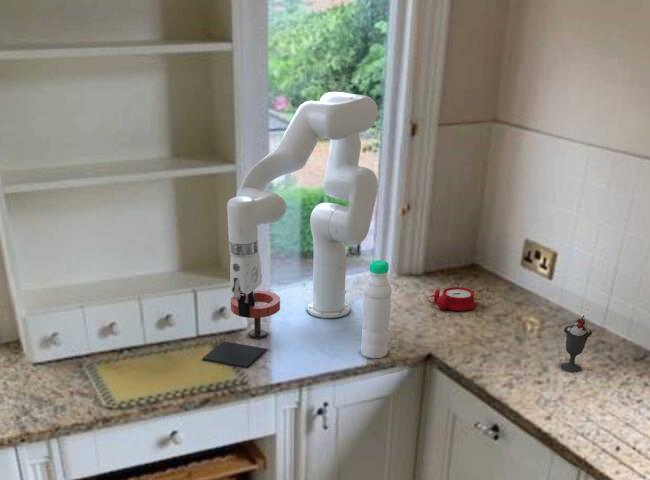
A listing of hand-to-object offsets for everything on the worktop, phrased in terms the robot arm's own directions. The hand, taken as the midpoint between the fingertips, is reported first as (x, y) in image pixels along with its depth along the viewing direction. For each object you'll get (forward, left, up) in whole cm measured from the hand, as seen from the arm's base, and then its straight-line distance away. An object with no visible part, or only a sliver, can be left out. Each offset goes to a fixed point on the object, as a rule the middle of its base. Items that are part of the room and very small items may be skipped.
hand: (246, 313), depth 215 cm
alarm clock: (-49, +45, -9) cm, 67 cm away
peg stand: (-7, 0, -9) cm, 11 cm away
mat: (+8, 0, -9) cm, 12 cm away
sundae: (-18, +83, -9) cm, 85 cm away
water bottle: (-7, +34, -9) cm, 36 cm away
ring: (-6, 0, -1) cm, 6 cm away
